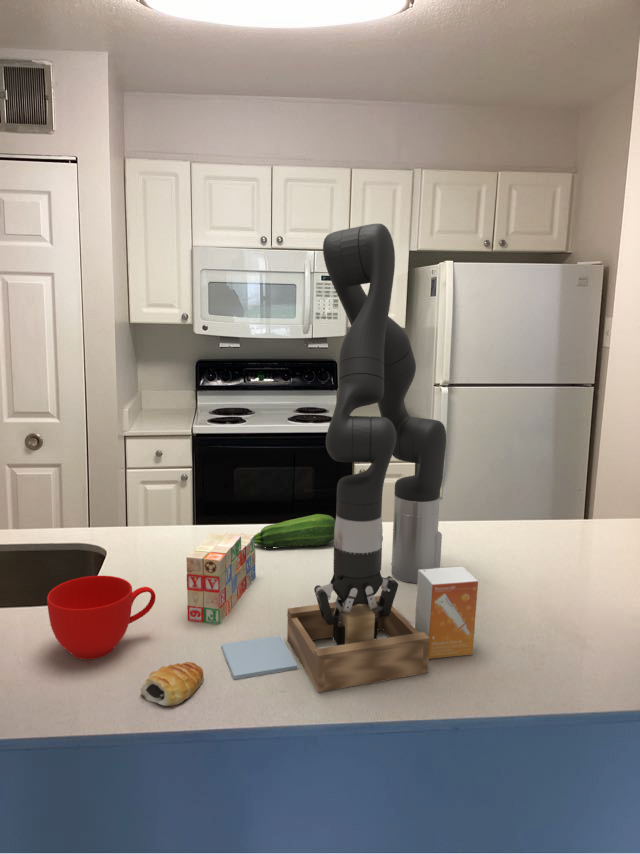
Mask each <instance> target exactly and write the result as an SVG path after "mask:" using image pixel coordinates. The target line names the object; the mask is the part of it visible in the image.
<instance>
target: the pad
mask: <svg viewBox="0 0 640 854" xmlns="http://www.w3.org/2000/svg"><path fill="white" fill-rule="evenodd" d="M220 645H221V647H220V649H221V650H222V653H223V656H224V657H225V658H224V659H225V660H226V663H227V665H228V667H229V670H230V672H231V675H232V678H233V680H239V679H246V678H249V677H251V678H252V677H257V676H265V675H269V674H275V673H281V671H282V672H286V671H287V670H288V671H292V670H298V664H297V662H296V661H295V659H294V657H293V655H292V654H291V652H290V650H289V649H288V647H287V645H286V643H285V642H284V640H283V638H282V637H281V635H275V636H266V637H261V638H253V639H247V640H240V641H239V640H238V641H234V642H225V643H221V644H220Z"/></svg>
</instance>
